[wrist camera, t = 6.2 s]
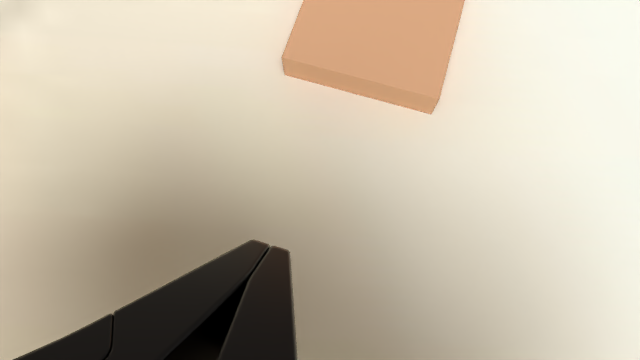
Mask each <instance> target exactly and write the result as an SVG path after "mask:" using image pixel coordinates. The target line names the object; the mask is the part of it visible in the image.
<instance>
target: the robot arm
mask: <svg viewBox="0 0 640 360" xmlns="http://www.w3.org/2000/svg"><path fill="white" fill-rule="evenodd" d="M13 360H297V346H296V331H295V317H294V303H293V288H292V274H291V259H290V252H289V251H288V250H286V249H283V248H279V247H276V246H271V247H270V245H269V244H266V243H263V242H260V241H257V240H250V241H248V242H246V243H244V244H242V245H240V246H238V247H237V248H235V249H233V250H231V251H229V252H227V253H225V254H223V255H221V256H219V257H217V258H216V259H214V260H212V261H210V262H208V263H206V264H204V265H202V266H200V267H198V268H196V269H195V270H193V271H191V272H189V273H187V274H185V275H183V276H181V277H179V278H177V279H175V280H174V281H172V282H170V283H168V284H166V285H164V286H162V287H160V288H158V289H156V290H154V291H153V292H151V293H149V294H147V295H145V296H143V297H141V298H139V299H137V300H135V301H134V302H132V303H130V304H128V305H126V306H124V307H122V308H120V309H118V310H116V311H115V312H114V313H113V315H112V314H108V315H106V316H105V317H103V318H101V319H99V320H97V321H95V322H93V323H91V324H89V325H87V326H85V327H83V328H81V329H79V330H77V331H75V332H73V333H71V334H69V335H67V336H65V337H63V338H61V339H59V340H56V341H54V342H52V343H50V344H47V345H45V346H43V347H41V348H39V349H36V350H34V351H32V352H30V353H27V354H25V355H23V356H20V357H18V358H16V359H13Z"/></svg>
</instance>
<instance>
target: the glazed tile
mask: <svg viewBox="0 0 640 360" xmlns="http://www.w3.org/2000/svg"><path fill="white" fill-rule="evenodd" d="M464 1H465V0H304V1H303V3H302V6H301V8H300V11H299V14H298V16H297V19H296V22H295V24H294V27H293V29H292V32H291V35H290V37H289V40H288V42H287V45H286V48H285V50H284V53H283V55H282V62H283V67H284V72H285V75H287V76H291V77H295V78H298V79H302V80H306V81H309V82H313V83H317V84H321V85H324V86H328V87H332V88H335V89H339V90H343V91H347V92H350V93H354V94H358V95H361V96H365V97H369V98H372V99H376V100H380V101H384V102H387V103H391V104H395V105H398V106H402V107H406V108H409V109H413V110H417V111H421V112H424V113H428V114H432V112H433V110H434V108H435V106H436V104H437V102H438V100H439V98H440V94H441V90H442V86H443V82H444V79H445V75H446V71H447V67H448V63H449V59H450V55H451V51H452V48H453V44H454V40H455V36H456V32H457V28H458V24H459V20H460V16H461V13H462V9H463V5H464Z"/></svg>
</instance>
